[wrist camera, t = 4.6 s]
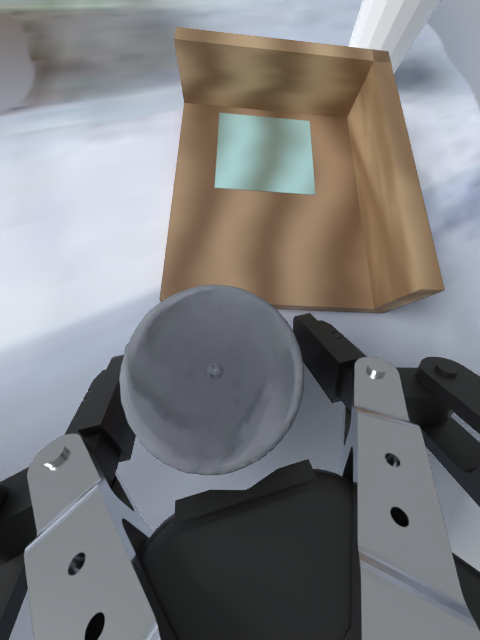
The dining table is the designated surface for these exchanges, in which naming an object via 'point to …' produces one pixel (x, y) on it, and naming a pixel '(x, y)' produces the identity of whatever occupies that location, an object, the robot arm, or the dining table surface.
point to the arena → (296, 177)
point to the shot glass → (391, 26)
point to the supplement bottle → (211, 379)
